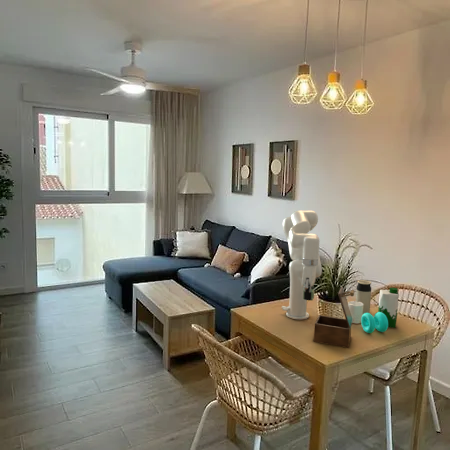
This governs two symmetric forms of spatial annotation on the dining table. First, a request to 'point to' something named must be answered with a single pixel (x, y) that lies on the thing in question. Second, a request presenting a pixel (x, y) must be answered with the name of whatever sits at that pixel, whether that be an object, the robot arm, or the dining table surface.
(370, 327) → the turquoise yo-yo
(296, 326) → the dining table surface
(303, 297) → the block
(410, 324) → the dining table surface
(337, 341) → the chest
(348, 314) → the lid
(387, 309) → the milk carton
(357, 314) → the white cup
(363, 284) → the travel mug
